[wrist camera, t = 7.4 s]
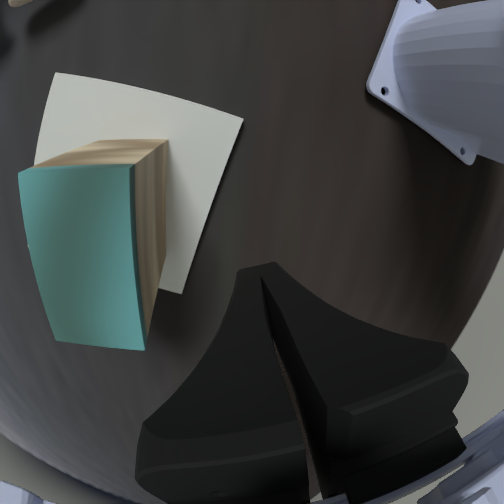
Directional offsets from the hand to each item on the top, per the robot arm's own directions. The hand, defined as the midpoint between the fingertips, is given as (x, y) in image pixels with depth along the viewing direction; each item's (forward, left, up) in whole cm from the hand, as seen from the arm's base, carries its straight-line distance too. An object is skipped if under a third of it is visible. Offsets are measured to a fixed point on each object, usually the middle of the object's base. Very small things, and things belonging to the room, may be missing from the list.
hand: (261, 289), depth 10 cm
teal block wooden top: (+6, 0, -6) cm, 8 cm away
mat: (+7, 0, -6) cm, 9 cm away
